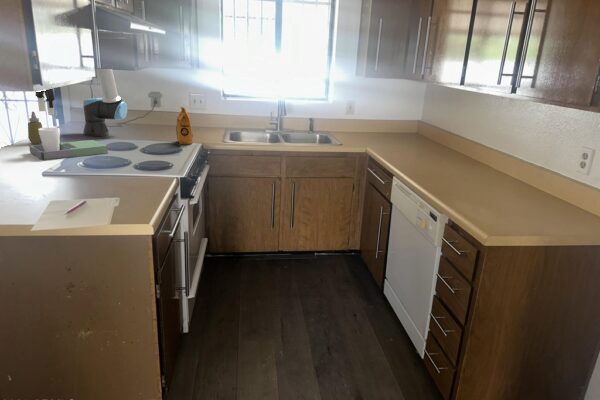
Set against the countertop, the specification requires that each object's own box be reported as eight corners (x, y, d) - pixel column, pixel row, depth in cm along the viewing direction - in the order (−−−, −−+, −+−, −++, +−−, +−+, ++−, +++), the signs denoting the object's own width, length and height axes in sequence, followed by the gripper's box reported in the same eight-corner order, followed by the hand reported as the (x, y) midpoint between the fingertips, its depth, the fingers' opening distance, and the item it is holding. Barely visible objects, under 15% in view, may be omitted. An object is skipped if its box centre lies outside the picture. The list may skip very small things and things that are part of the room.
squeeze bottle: (48, 142, 247) (44, 111, 241) (39, 145, 239) (34, 113, 234) (35, 141, 248) (31, 110, 242) (25, 144, 240) (20, 112, 234)
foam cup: (62, 155, 218) (59, 130, 214) (41, 156, 214) (37, 130, 210) (62, 151, 226) (59, 127, 222) (42, 152, 222) (38, 127, 218)
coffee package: (176, 144, 262) (175, 108, 255) (176, 140, 273) (175, 105, 266) (193, 144, 264) (192, 108, 258) (192, 140, 276) (191, 106, 269)
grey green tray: (93, 146, 244) (93, 139, 242) (108, 153, 231) (107, 145, 230) (30, 153, 221) (29, 145, 220) (42, 160, 209) (41, 152, 208)
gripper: (24, 66, 212) (30, 110, 219) (40, 69, 196) (46, 116, 203) (41, 67, 218) (46, 109, 224) (58, 70, 201) (63, 115, 208)
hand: (46, 112), depth 214 cm, fingers open, 13 cm apart
